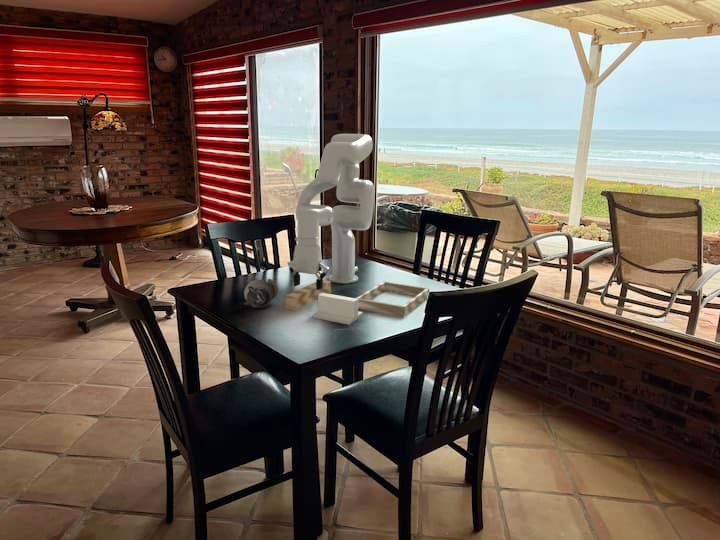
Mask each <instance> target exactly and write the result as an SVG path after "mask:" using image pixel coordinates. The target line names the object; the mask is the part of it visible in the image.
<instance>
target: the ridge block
mask: <svg viewBox="0 0 720 540" xmlns="http://www.w3.org/2000/svg"><path fill="white" fill-rule="evenodd" d="M356 298H357V297H355V298H354V297H348V296H344V295H337V294H332V293H329V294H327V293H321V294H319V295H318V299H317V309H318V310H317V311H316V312H314V313H312V318H314V319H319V320H323V321H324V320H325V321H328V322H334V323H339V324H344V325H348V326H350V325H351V324H353V323H355V322H356V321H357V320H358V319H360V318H362V317H363V316H364V312H363V311H359V309H358V299H356Z"/></svg>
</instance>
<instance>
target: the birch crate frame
mask: <svg viewBox="0 0 720 540" xmlns="http://www.w3.org/2000/svg"><path fill="white" fill-rule="evenodd" d="M389 291H392V292H391V293H395V292H398V293H397V294H401V293H403V294H404V295H408V294H410V295H409V296H414V295H416V296H414V297H413V298H411V299H410V300H409V301H407V302H406V303H405V304H404V305H398V304H393V303H388V302H381V301H375V300H373V299H374V298H376V297H378V296H379V295H381V294H382V292H383V293H384V292H389ZM428 293H429V294H430V288H429V287H423V286H417V285H410V284H402V283H396V282H389V281H385V280H384V281H382V282H381V283H379V284H377V285H376V286H374V287H372V288H371V289H369V290H368V291H365V292H364V293H362V294H361V295H359V296H357V297H355V298H356V299H358V310H362V311H370V312H375V313H380V314H385V315H391V316H396V317H401V316H403V318H405V317H406V316H407V315H408V314H410V313H411V312H412V311H413V310H414V309H416V308H417V307H419V306H420V305H421V304H422V303H424V300H425V299H426V300H427V299H428V298H427V296H428ZM403 294H402V295H403ZM426 300H425V301H426ZM419 304H420V305H419ZM409 312H410V313H409ZM404 316H405V317H404Z"/></svg>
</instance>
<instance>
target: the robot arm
mask: <svg viewBox="0 0 720 540" xmlns="http://www.w3.org/2000/svg"><path fill="white" fill-rule="evenodd" d="M373 144H374V143H373V139H372V137H371V136H370V135H369V134H366V133H365V134H363V133H338V134H335V135H333V136H332V137H331V139H330V142H328V143H327V144H325V147H324V148H323V153H322V156H321V159H320V163H319V166H318V170H317V173H316V177H315V178H314V179H312V180H311V181H310V182H309V183H308V184H307V185H306V186H305V187H304V189H303V190H302V191H301V192H300V195H299V198H298V201H297V203H296V204H297V205H296V210H295V217H296V220H297V236H295V238H294V240H295V241H296V242H297V244H295V247H294V252H293V260H290V261H287V265H288V269H289V271H290V272H291V275H292V276H293V286H294V287H297V286H300V285H301V273H302V274H308V275H314V276H315V277H316V278H317V279H316V281H315V283H316V289H317V290H319V289H322V287H323V280H324V278H325V277H326V276H327V275H328V273H329V270H330V268H329V267H328V266H327V265H326V264H325V263H323V259H322V258H323V256H322V250H321V245H319V237H320V236H319V234H320V233H319V229H320V228H319V227H320V226H321V227H326V226H329V225H330V228H331V256H332V257H331V266H332V267H331V274H330V275H329V276H328V281H331V283H335V284H352V283H356V282H358V281H359V276H358V275H356V274H355V273H356V272H357V271H358V270H359V267H358V266H356V265H355V264H356V263H355V262H356V238H355V236H354V233H353V232H352V230H356V231H366V230H368V229H370V227H371V225H372V221H373V213H374V208H375V207H374V206H375V196H376V195H375V194H376V191H375V185H374V183H373V182H372V181H371V180H368V179H359V178H360V165H359V164H360V163H362V161H364V160H365V159H366V158H368V157H369V156H370V154H371V153H372V151H373V147H374V145H373ZM334 187H336V191H335V193H336V198H337V200H339V201H340V202H342V203H343V202H344V203H351V204H352V203H353V204H359V206H357V205H355V206H354V205H346V204H345V205H344V204H343V205H341V204H339V205H335V206H333V207H331V206H329V205H324V204H315V203H314V204H311V202H312V200H313V199H314V198H315V197H317V195H319V194H321V193H323V192H325V191H328V190H330V189H332V188H334Z"/></svg>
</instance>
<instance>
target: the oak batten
mask: <svg viewBox="0 0 720 540" xmlns="http://www.w3.org/2000/svg"><path fill="white" fill-rule="evenodd" d="M321 293H327V294H332V282H331V281H329V280H327V279H326V280H325V279H323V287H322V289H319V290H317V289H316V282H314V283H311V284H309V285H306V286H305V287H303V288H300V289H298V290H296V291H294V292H291V293H289V294H287V295H284V297H285V298H284V299H285V301H284V302H285V303H284V304H285V309H287V310H291V311H297V310H298V309H300V308H303V307H305V306H307V305H309V304H311V303H314V302H315V301H318V295H319V294H321Z"/></svg>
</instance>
